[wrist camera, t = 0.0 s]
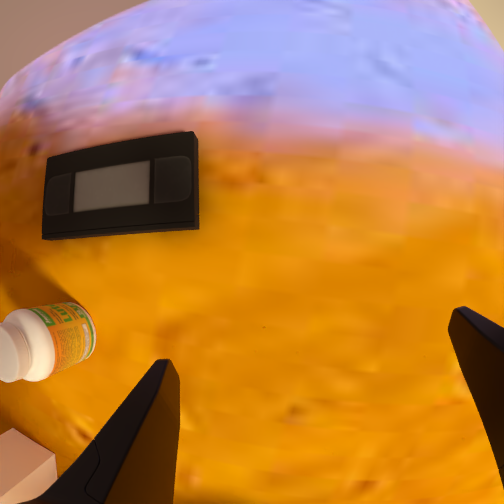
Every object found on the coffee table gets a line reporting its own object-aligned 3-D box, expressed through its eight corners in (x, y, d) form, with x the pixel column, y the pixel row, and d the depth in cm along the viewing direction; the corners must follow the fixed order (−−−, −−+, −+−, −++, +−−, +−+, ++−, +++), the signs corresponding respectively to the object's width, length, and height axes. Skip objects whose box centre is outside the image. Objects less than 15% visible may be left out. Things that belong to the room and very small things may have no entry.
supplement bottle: (98, 306, 25) (23, 322, 15) (98, 366, 25) (30, 403, 15) (51, 297, 25) (-25, 306, 15) (52, 353, 25) (-19, 378, 15)
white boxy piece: (54, 453, 24) (-10, 505, 12) (59, 491, 24) (6, 542, 12) (12, 427, 25) (-53, 465, 13) (19, 466, 25) (-37, 506, 13)
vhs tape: (59, 163, 26) (47, 157, 24) (199, 140, 25) (194, 130, 23) (54, 240, 26) (41, 239, 24) (200, 229, 25) (194, 226, 23)
